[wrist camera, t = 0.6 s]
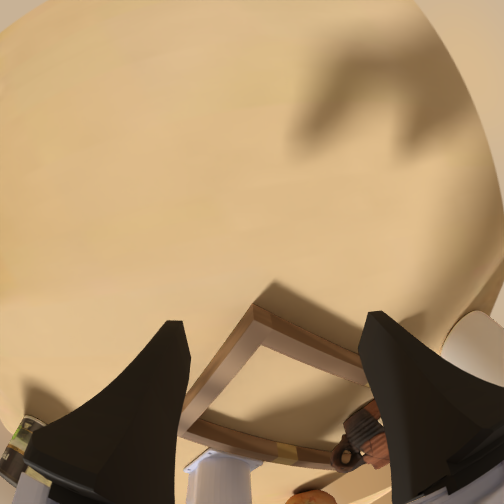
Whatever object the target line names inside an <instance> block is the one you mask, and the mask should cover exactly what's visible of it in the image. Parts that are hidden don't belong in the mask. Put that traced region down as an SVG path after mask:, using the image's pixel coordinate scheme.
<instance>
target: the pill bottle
mask: <svg viewBox="0 0 504 504" xmlns="http://www.w3.org/2000/svg"><path fill="white" fill-rule="evenodd" d="M441 357H442V358H444V359H445V360H447V361H448V362H450V363H452V364H453V365H455V366H457V367H458V368H460V369H462V370H464V371H466V372H468V373H470V374H472V375H474V376H476V377H478V378H480V379H483V380H485V381H487V382H490V383H493V384H496V385H498V386H502V387H504V328H503V327H501V326H500V325H499V324H498V323H497V322H495V321H494V320H493V319H492V318H491V317H489V316H488V315H487V314H485V313H484V312H482V311H472V312H470V313H468V314H467V315H465V316H464V317H463V318H462V319H461V320H460V321H459V322H458V323H457V324H456V325H455V326H454V327H453V329H452V330H451V332H450V333H449V335H448V336H447V338H446V340H445V342H444V344H443V347H442V351H441Z"/></svg>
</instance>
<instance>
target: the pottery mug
mask: <svg viewBox="0 0 504 504" xmlns="http://www.w3.org/2000/svg"><path fill="white" fill-rule="evenodd" d="M380 417H381V415H380V412H379V409H378V406H377V404H376V401H375V400H373V401H372V402H370V403H369V404H368V405H367V406H365V407H364V408H362V409H361V410H360V411H359V412H357V413H355V414H354V415H352V416H351V417H350V418H348V419H347V420H346V421H345V422H344V423H343V425H344V428H345V432H346V434H343V435H342V439H341V441H340V443H339V444H338V445H337V446H336V447H335V448H334V449H333V451H332V454H331V458H330V463H331V467H333V468H335V469H336V471H337V472H340V473H348V472H351V471H353V470H355V469H356V468H358V467H359V466H361V465H363V464H366V463H367V464H372V465H373V467H374V468H375V469H379V468H381V467H383V466H385V465H387V464H388V463H390V458H389V451H388V445H387V440H386V435H385V430H384V427H383V426H382V425H381V424H380V423H379V422H378V421H377V420H378V419H379V418H380ZM345 450H348V451H349V452H351V457H350V461H349V462H348V463H343V462H342V454H343V452H344V451H345ZM360 450H361V451H363V452H364V453H365V454H364V455H363V456H362V455H361V454H360Z"/></svg>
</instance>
